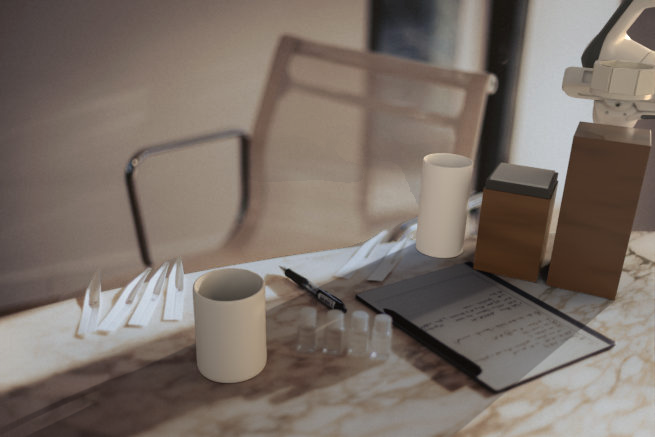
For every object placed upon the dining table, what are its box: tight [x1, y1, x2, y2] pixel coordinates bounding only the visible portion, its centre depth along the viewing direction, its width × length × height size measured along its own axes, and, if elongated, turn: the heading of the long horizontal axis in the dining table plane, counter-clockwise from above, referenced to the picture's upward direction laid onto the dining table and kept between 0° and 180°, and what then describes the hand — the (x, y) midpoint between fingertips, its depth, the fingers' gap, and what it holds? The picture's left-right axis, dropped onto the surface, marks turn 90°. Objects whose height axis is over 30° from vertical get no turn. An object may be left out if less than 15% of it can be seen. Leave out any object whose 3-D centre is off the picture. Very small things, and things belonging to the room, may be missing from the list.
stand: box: [472, 120, 652, 301], centre depth 97 cm, size 10×22×24 cm, turn 65°
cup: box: [415, 152, 474, 259], centre depth 106 cm, size 8×8×16 cm
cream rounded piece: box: [589, 60, 655, 101], centre depth 101 cm, size 22×9×4 cm, turn 155°
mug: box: [192, 267, 268, 384], centre depth 76 cm, size 12×8×11 cm
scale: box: [484, 161, 559, 199], centre depth 98 cm, size 10×10×2 cm
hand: (625, 70), depth 106 cm, fingers closed on cream rounded piece, 2 cm apart
